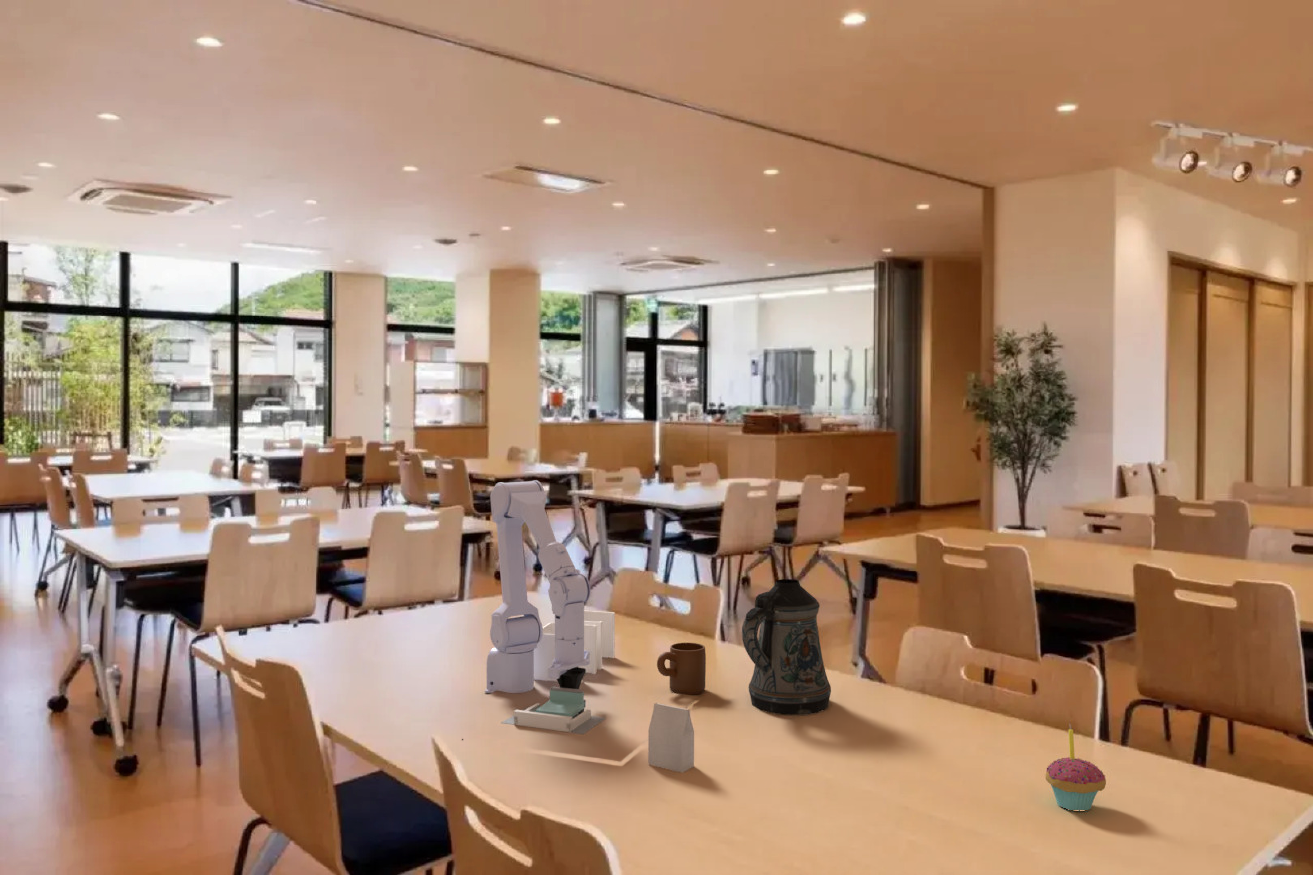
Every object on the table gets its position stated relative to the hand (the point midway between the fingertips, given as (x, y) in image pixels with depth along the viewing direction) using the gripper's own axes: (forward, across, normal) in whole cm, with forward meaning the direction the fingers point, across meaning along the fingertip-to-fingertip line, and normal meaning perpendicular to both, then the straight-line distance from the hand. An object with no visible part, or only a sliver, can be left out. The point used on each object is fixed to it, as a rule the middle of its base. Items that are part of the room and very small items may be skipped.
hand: (569, 706), depth 199 cm
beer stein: (+2, +21, -38) cm, 44 cm away
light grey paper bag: (+2, -18, -28) cm, 33 cm away
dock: (+2, -7, 0) cm, 7 cm away
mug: (+2, +22, -15) cm, 26 cm away
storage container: (+2, +30, +13) cm, 32 cm away
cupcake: (+2, -12, -91) cm, 92 cm away
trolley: (+1, -4, 0) cm, 5 cm away
